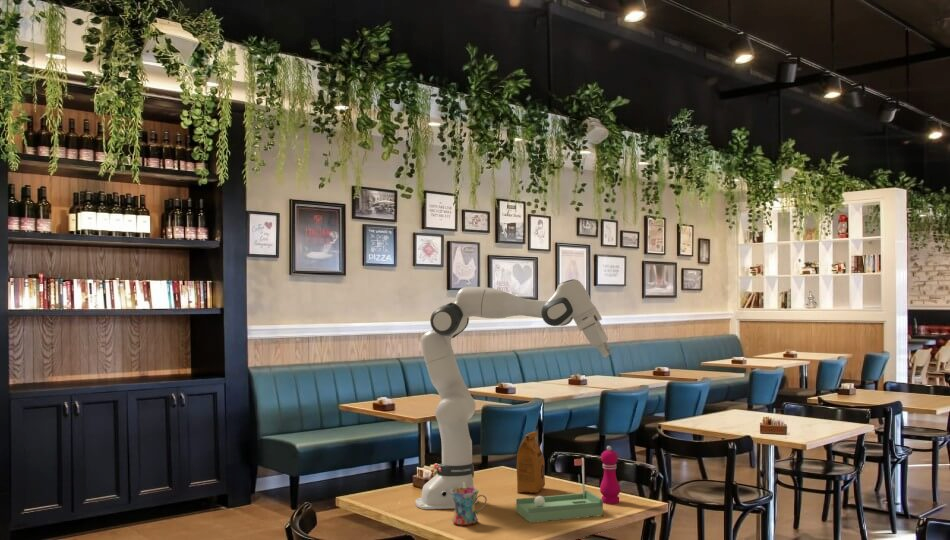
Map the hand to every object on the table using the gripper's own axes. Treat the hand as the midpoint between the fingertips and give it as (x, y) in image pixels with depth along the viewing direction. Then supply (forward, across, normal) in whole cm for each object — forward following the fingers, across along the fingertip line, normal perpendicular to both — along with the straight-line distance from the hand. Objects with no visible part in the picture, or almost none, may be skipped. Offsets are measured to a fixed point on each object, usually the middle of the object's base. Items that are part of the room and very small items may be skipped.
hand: (608, 355), depth 284 cm
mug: (+27, +27, -64) cm, 74 cm away
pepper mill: (+46, -9, -26) cm, 54 cm away
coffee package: (+32, -21, -54) cm, 66 cm away
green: (+39, +10, -40) cm, 57 cm away
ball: (+32, +14, -43) cm, 55 cm away
